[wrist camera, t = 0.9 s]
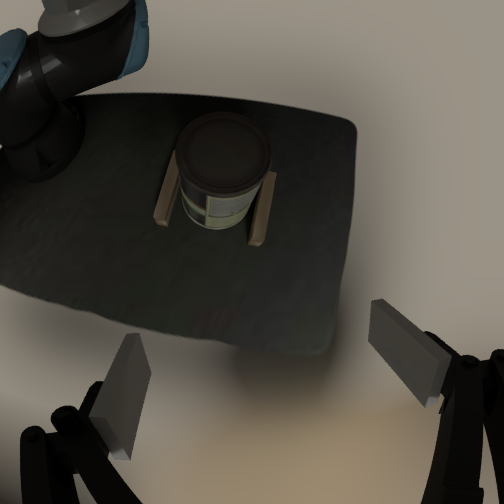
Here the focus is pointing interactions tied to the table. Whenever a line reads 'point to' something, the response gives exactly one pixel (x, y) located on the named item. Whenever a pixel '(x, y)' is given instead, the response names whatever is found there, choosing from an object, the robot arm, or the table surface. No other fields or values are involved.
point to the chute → (260, 212)
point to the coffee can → (221, 167)
